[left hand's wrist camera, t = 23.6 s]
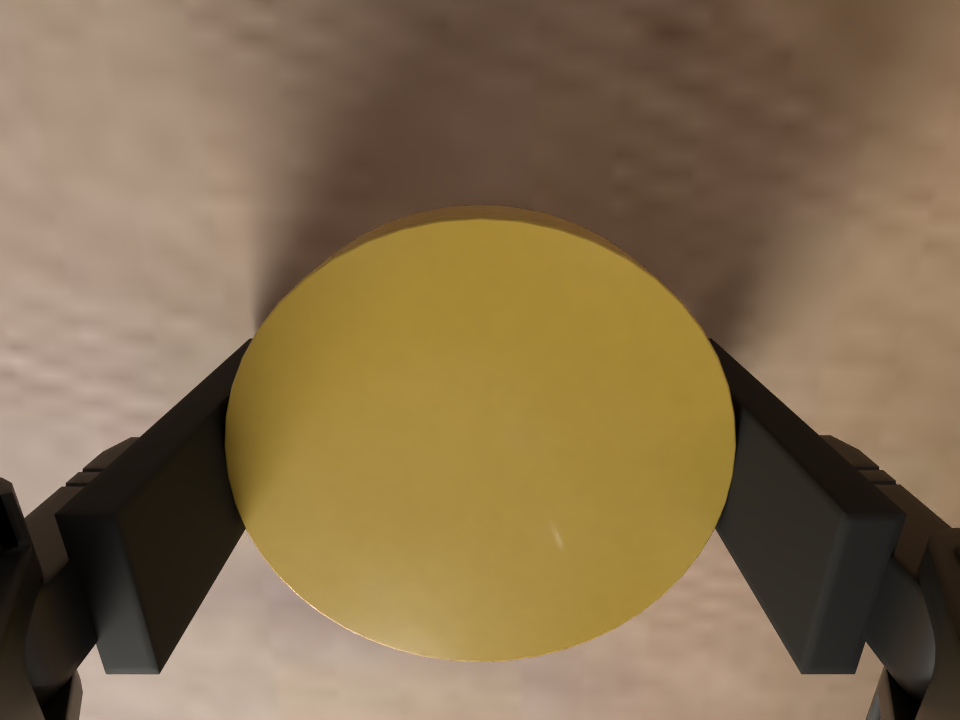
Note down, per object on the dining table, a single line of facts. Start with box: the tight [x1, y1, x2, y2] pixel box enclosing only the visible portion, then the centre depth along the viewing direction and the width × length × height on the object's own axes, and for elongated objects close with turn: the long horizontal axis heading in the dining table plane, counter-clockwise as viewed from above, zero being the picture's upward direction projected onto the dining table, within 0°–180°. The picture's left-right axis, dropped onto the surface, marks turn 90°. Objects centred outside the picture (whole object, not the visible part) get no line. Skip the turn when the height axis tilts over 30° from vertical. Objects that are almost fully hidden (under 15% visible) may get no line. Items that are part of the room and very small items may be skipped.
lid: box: [225, 205, 736, 662], centre depth 11 cm, size 9×9×2 cm
